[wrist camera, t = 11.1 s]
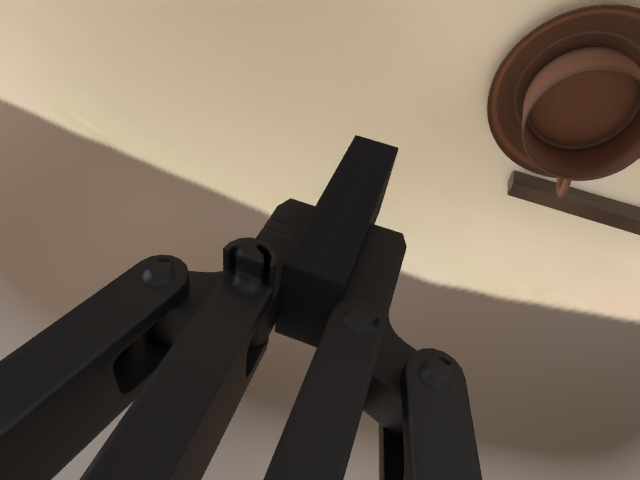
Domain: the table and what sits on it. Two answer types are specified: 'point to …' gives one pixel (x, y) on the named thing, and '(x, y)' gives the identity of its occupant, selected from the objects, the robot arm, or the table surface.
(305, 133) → the table surface
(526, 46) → the cup and saucer
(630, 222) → the bay
